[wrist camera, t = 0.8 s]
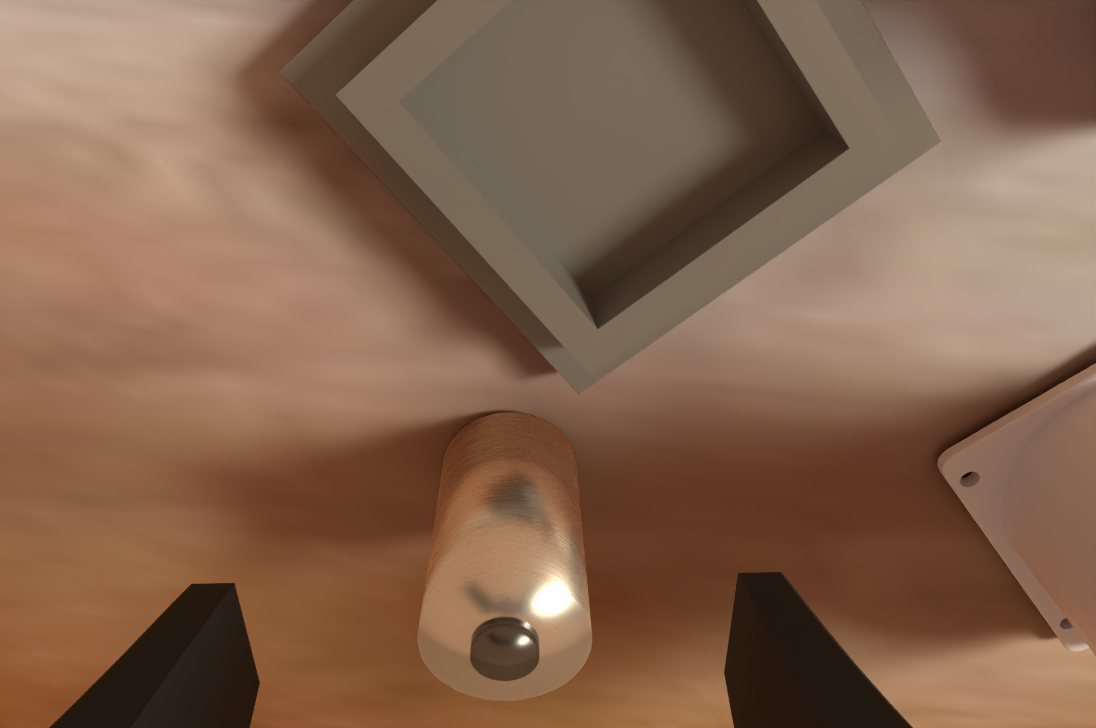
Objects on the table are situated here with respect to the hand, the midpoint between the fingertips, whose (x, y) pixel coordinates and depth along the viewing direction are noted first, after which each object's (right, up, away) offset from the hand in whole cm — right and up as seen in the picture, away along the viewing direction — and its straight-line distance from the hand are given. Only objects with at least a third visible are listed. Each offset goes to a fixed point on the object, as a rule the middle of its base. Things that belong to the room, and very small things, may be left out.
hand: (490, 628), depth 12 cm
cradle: (+2, +10, +6) cm, 11 cm away
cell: (0, +1, +10) cm, 10 cm away
